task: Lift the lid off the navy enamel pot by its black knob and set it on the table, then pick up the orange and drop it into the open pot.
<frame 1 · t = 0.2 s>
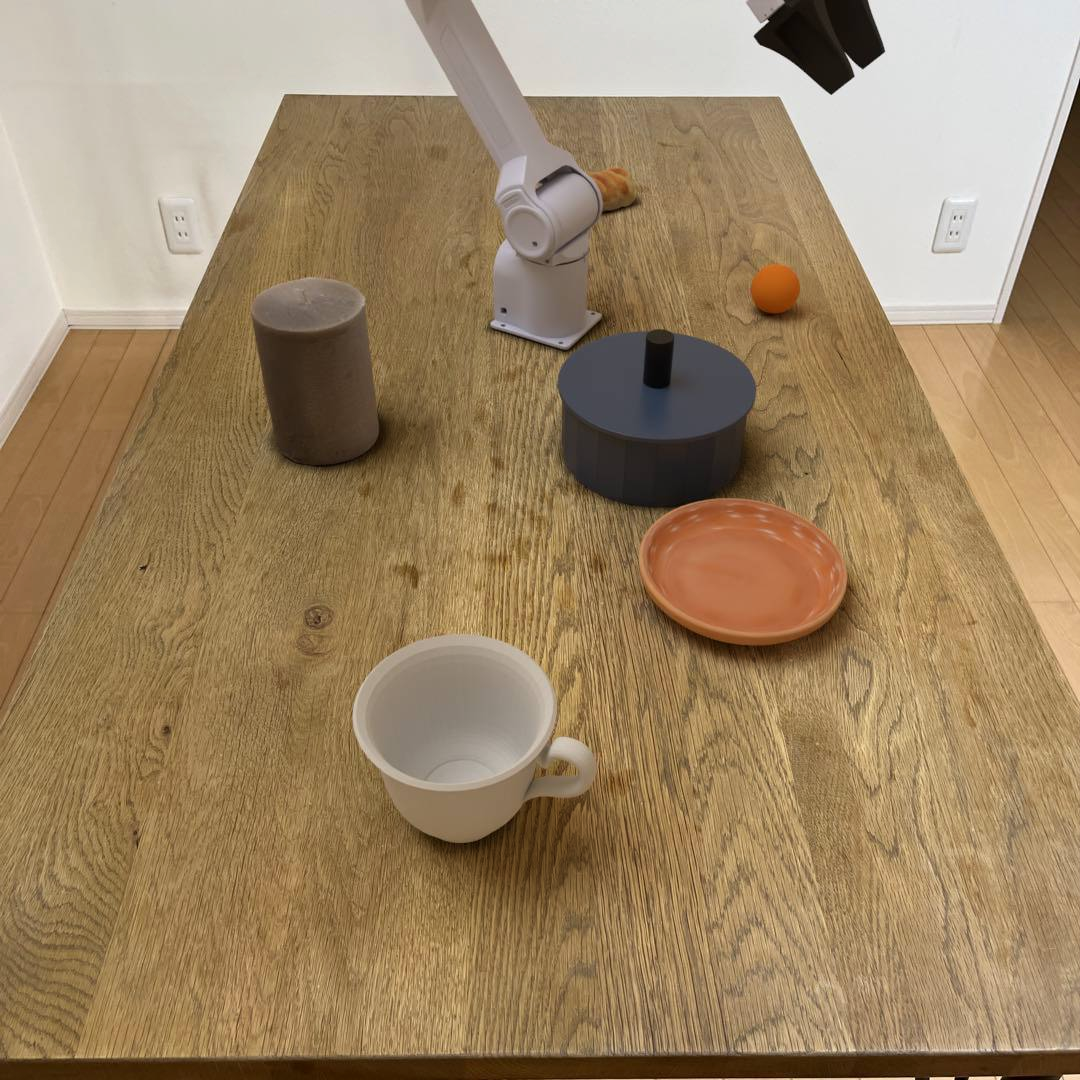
hand: (859, 73, 87), 31 cm above the table, tool tilted 45°, fingers open, 7 cm apart
orange: (775, 289, 119), point 3 cm above the table
pot: (650, 451, 101), on the table
saucer: (737, 590, 88), on the table
pillar candle: (328, 436, 103), on the table
teacup: (482, 815, 72), on the table
pastry: (601, 204, 142), on the table
lid: (656, 386, 97), point 7 cm above the table, touching pot
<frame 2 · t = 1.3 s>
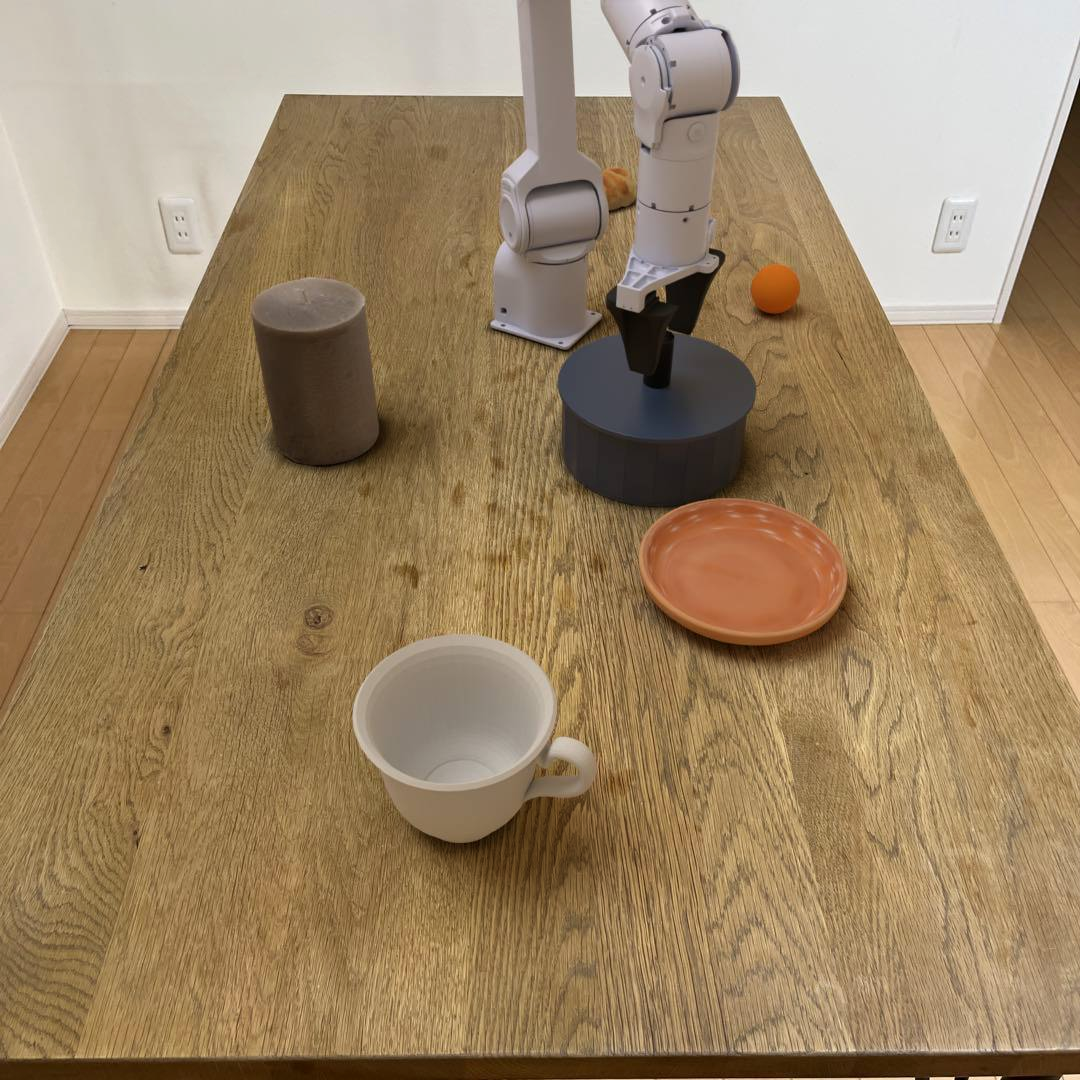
hand: (661, 350, 94), 11 cm above the table, tool pointing down, fingers open, 7 cm apart
nothing on the table moved.
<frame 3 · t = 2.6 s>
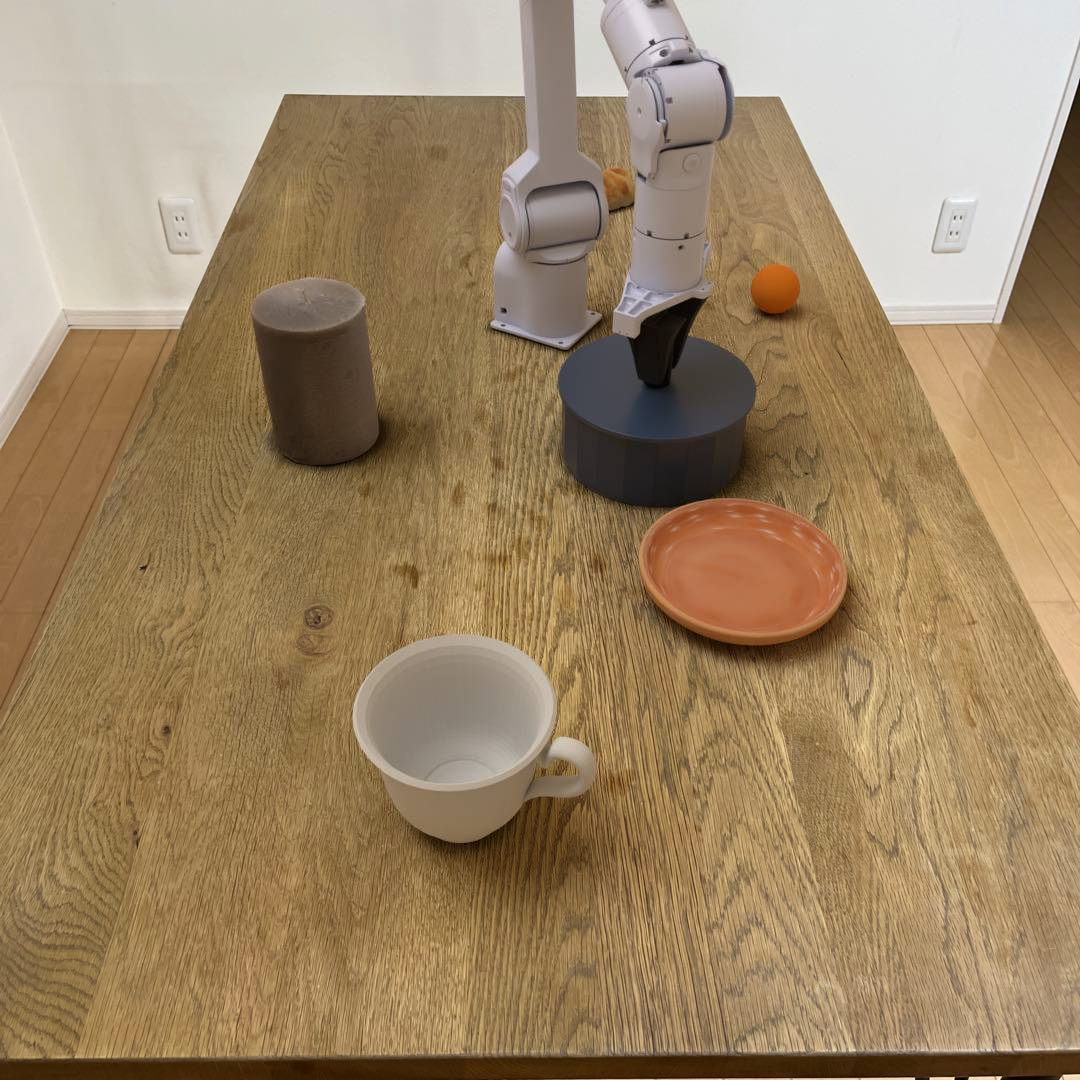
hand: (657, 372, 96), 8 cm above the table, tool pointing down, fingers closed on lid, 2 cm apart
lid: (656, 386, 97), point 7 cm above the table, touching gripper, pot
everything else where it was.
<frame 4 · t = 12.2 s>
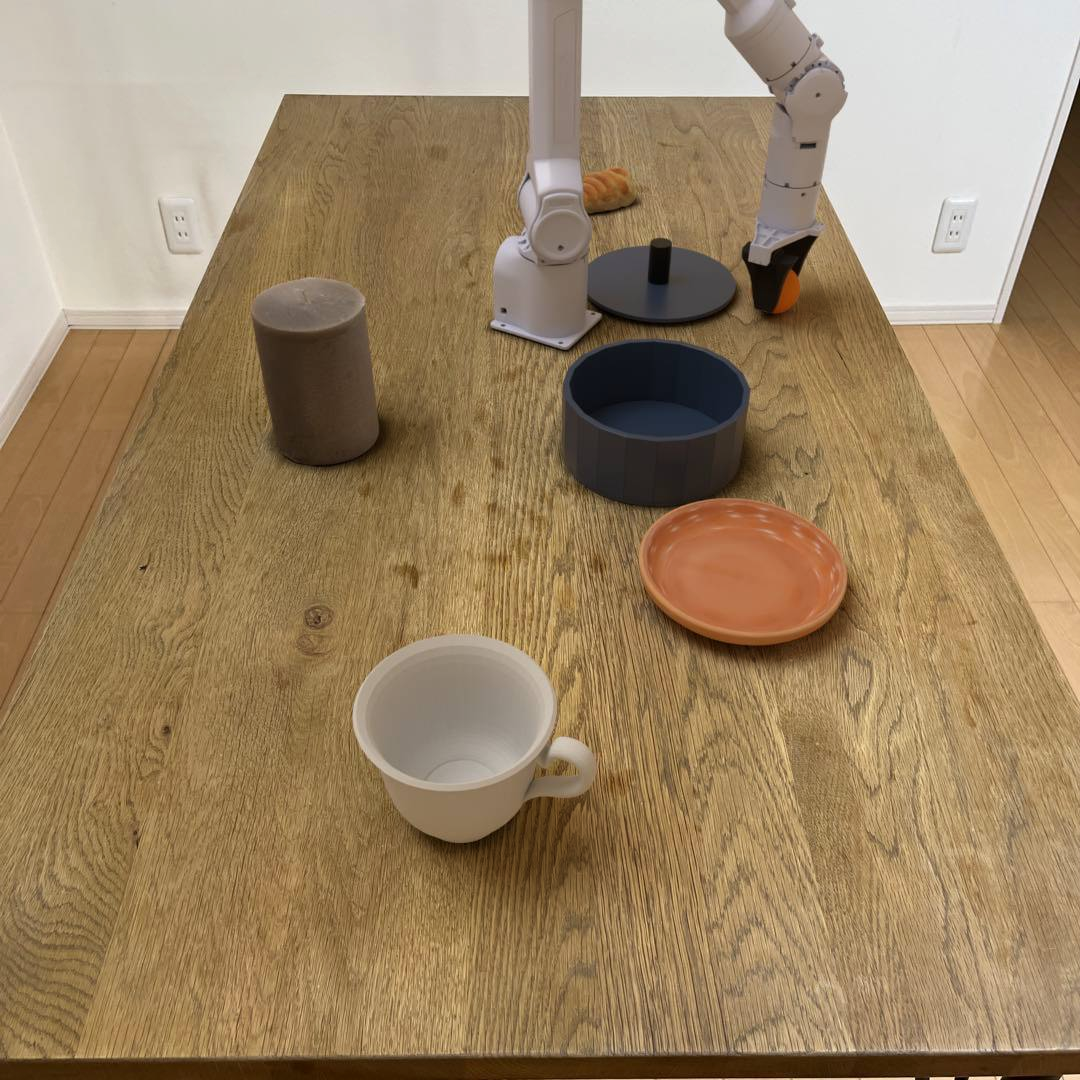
hand: (773, 298, 120), 1 cm above the table, tool pointing down, fingers closed on orange, 5 cm apart
orange: (775, 288, 119), point 3 cm above the table, touching gripper
lid: (657, 284, 124), point 1 cm above the table
everything else where it was.
when the fingers open (6 cm above the table, at t = 18.3 s): orange drops 4 cm and tips over, resting on pot.
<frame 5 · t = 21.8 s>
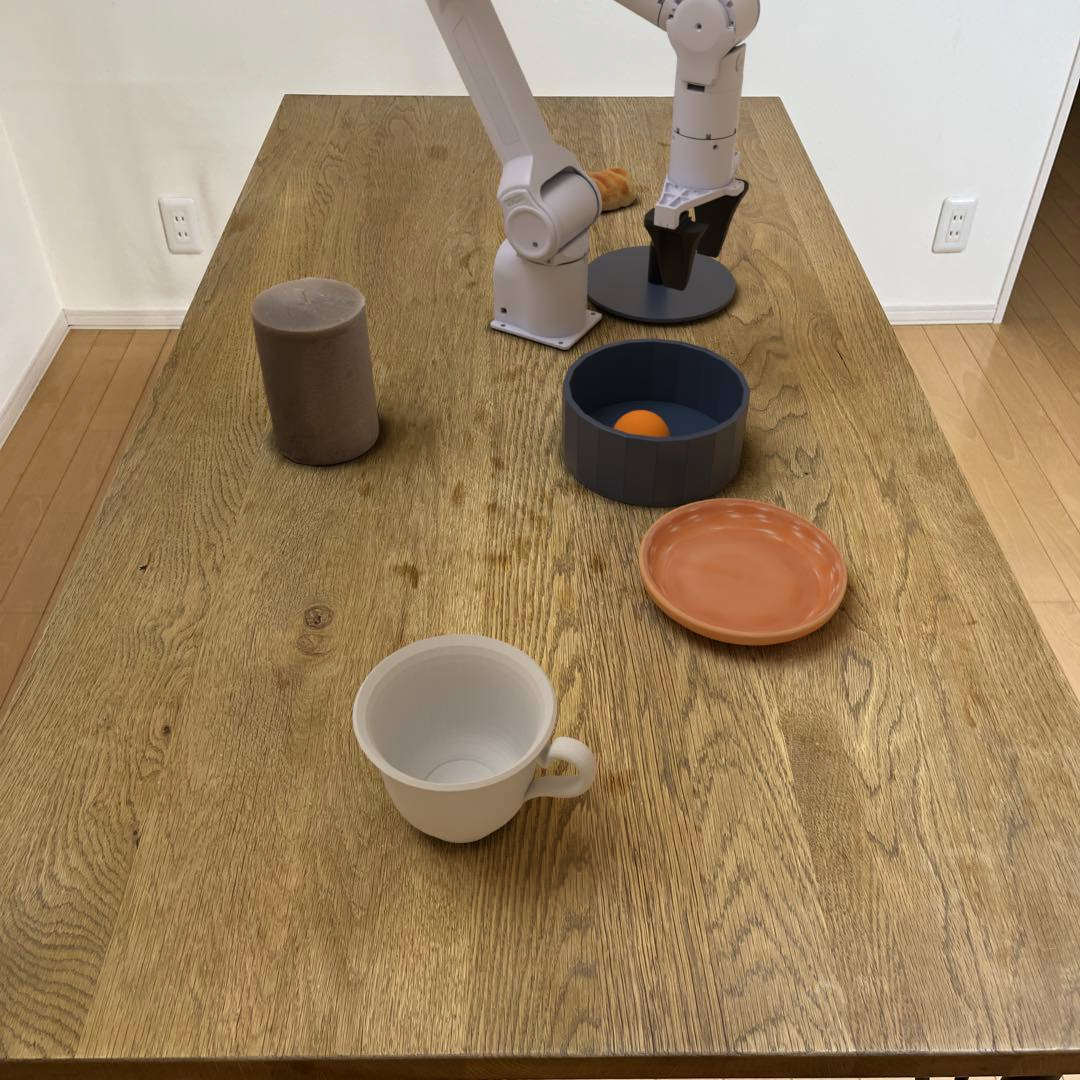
hand: (691, 270, 106), 10 cm above the table, tool pointing down, fingers open, 7 cm apart
orange: (640, 439, 97), point 3 cm above the table, tilted 65°, touching pot
everything else where it was.
at the end: orange inside the target area in the pot (2.9 cm from its centre), point 3.1 cm above the pot's base; lid point 0.6 cm above the table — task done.
